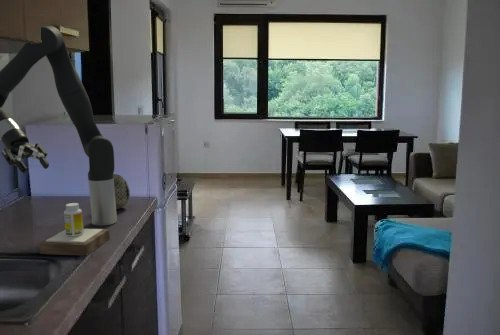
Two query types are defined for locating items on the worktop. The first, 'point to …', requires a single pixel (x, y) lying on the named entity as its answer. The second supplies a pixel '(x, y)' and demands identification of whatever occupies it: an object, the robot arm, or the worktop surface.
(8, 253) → the worktop surface
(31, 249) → the worktop surface
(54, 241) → the walnut stand
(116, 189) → the decorative egg
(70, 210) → the supplement bottle
